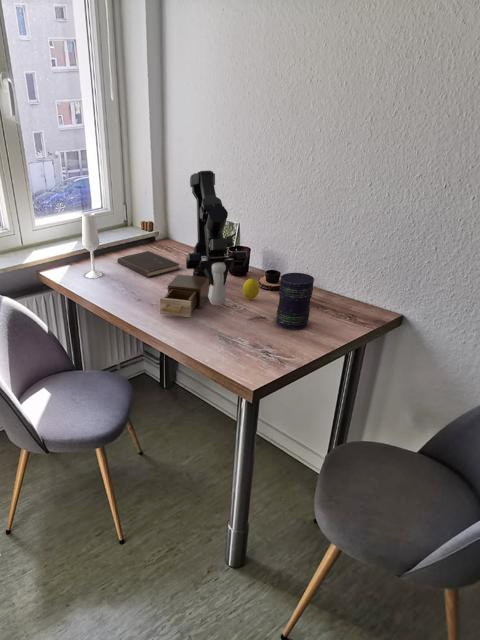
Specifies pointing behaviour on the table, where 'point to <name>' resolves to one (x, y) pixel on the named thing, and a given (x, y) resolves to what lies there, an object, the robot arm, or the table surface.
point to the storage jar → (294, 301)
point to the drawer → (178, 302)
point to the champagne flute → (90, 239)
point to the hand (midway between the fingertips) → (218, 285)
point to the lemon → (251, 288)
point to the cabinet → (192, 286)
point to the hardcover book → (148, 263)
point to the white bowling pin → (217, 285)
